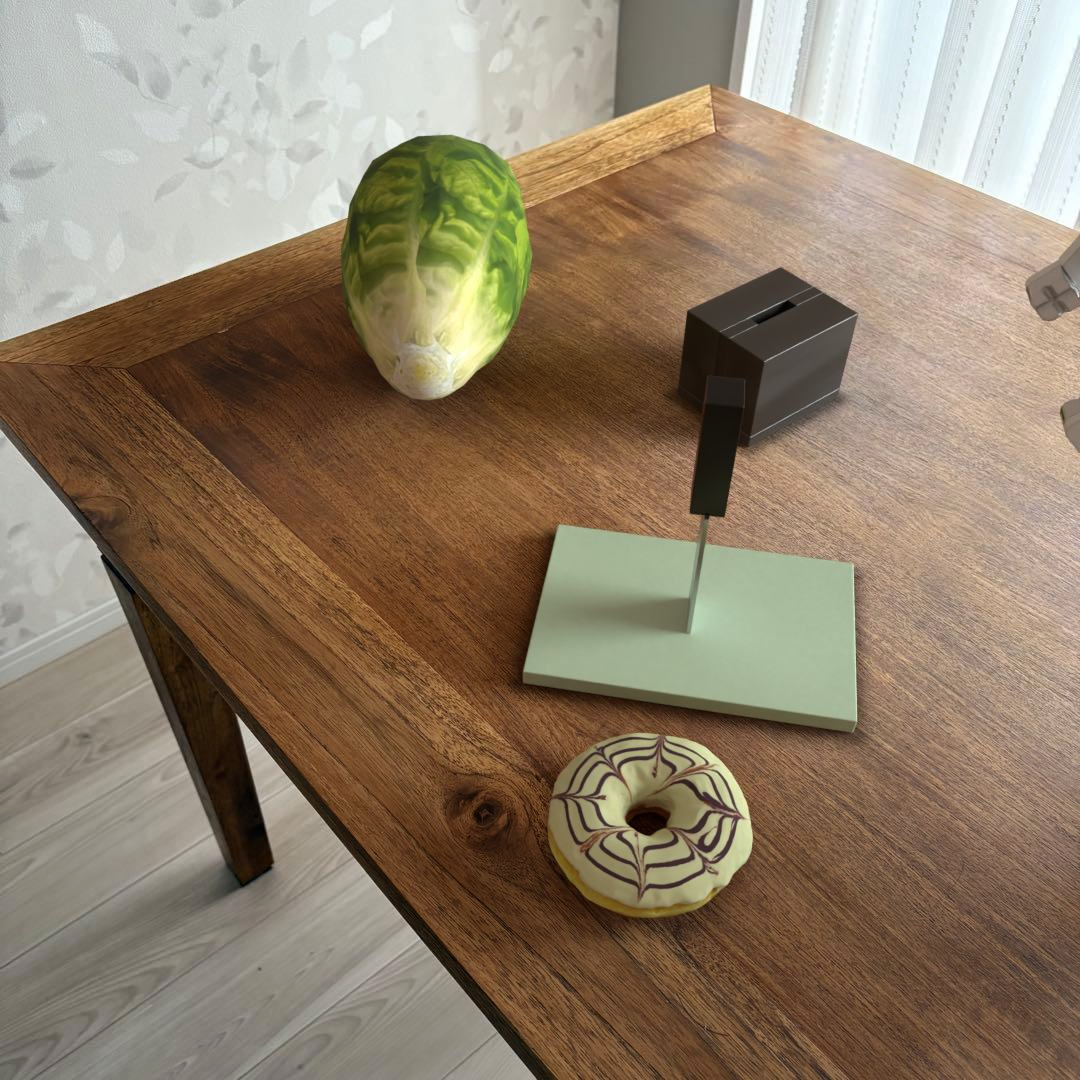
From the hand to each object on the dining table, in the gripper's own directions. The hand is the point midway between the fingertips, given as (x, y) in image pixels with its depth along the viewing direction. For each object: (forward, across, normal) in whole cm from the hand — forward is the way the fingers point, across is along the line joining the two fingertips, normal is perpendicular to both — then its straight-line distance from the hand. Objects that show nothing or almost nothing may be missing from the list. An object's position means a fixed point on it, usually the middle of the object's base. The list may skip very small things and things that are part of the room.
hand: (1049, 363), depth 47 cm
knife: (+27, +6, -9) cm, 29 cm away
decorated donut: (+29, -9, -9) cm, 32 cm away
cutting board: (+28, +6, -10) cm, 30 cm away
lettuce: (+44, +33, +6) cm, 55 cm away
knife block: (+25, +31, -12) cm, 42 cm away
